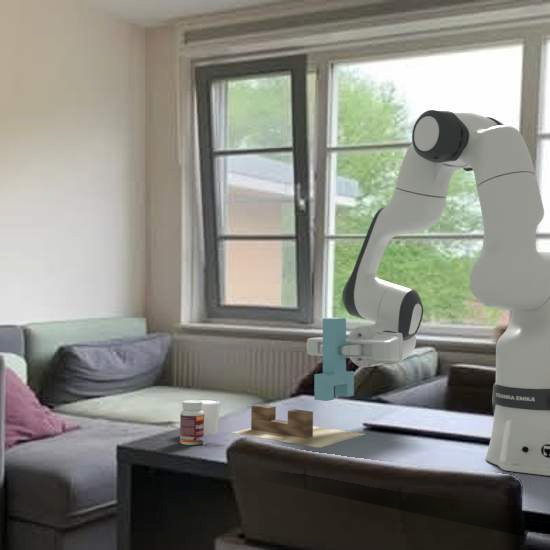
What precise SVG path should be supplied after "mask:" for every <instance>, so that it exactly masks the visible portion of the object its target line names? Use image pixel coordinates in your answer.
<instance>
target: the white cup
mask: <svg viewBox="0 0 550 550" xmlns="http://www.w3.org/2000/svg"><path fill="white" fill-rule="evenodd" d="M197 400H198V401H202V409H201V410H202V411H203V412H204V436H203V437H206V436H210V435H215V434H218V433H219V431H218V430H219V429H218V428H219V421H220V410H221V401H219V400H216V399H197Z"/></svg>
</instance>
